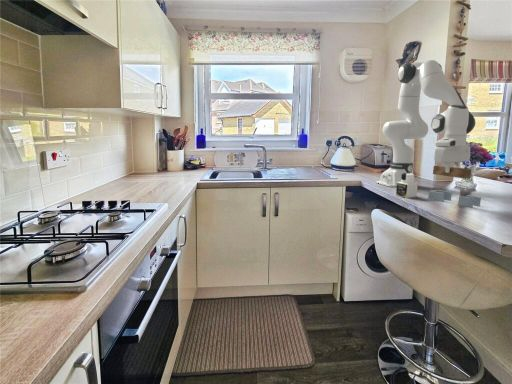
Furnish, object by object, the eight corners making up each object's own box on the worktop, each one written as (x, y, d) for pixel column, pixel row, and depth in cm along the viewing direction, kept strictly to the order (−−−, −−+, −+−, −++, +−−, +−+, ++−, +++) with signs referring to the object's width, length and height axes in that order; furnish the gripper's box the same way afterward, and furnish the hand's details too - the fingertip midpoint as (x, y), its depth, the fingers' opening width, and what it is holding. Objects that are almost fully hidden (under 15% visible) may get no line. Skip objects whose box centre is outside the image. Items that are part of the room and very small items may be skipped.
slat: (432, 174, 160) (433, 165, 159) (437, 173, 162) (437, 165, 161) (465, 178, 146) (466, 169, 145) (470, 178, 147) (471, 169, 147)
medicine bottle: (395, 195, 175) (397, 172, 173) (406, 194, 178) (408, 172, 175) (406, 198, 169) (408, 174, 166) (416, 197, 171) (419, 173, 169)
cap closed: (428, 198, 167) (429, 190, 166) (436, 197, 170) (437, 189, 169) (442, 201, 160) (443, 193, 160) (450, 200, 163) (451, 192, 163)
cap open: (458, 204, 154) (459, 196, 153) (466, 203, 156) (467, 195, 156) (471, 207, 148) (472, 198, 148) (480, 206, 151) (481, 197, 150)
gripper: (462, 140, 158) (459, 170, 161) (433, 141, 149) (430, 172, 152) (476, 141, 152) (472, 171, 155) (446, 142, 144) (442, 174, 146)
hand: (451, 172), depth 154 cm, fingers closed on slat, 3 cm apart
